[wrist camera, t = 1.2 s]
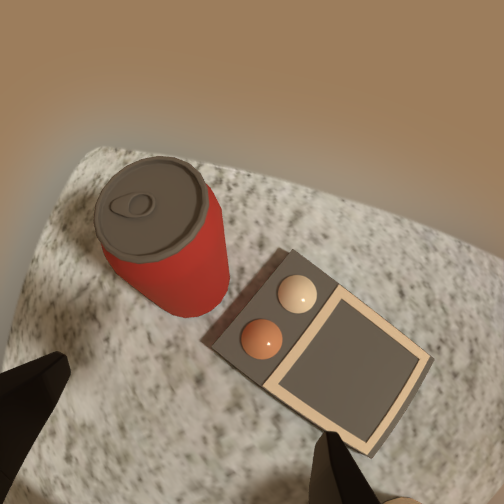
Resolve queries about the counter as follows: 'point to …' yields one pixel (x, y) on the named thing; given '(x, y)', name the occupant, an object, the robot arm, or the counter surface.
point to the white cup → (402, 501)
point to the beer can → (165, 235)
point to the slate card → (326, 354)
